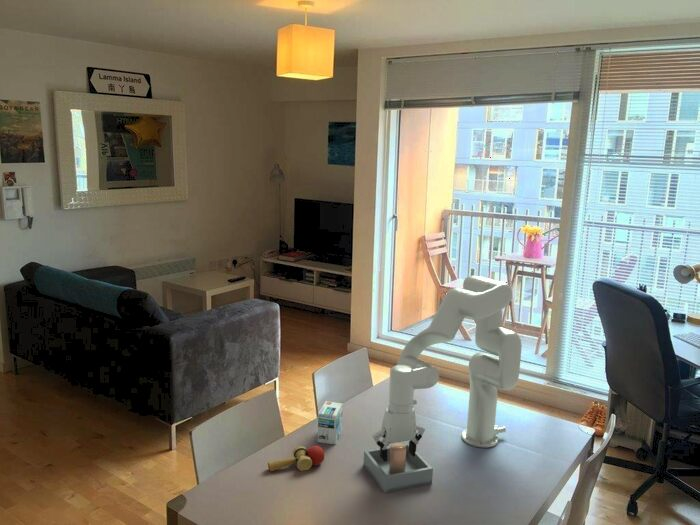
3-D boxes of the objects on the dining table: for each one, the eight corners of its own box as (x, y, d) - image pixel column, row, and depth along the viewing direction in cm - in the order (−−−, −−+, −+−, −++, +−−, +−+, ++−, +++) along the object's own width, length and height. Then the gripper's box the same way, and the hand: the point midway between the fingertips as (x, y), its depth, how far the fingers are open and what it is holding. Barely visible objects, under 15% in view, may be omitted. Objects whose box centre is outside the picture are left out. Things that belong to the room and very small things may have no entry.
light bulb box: (335, 445, 194) (336, 415, 192) (316, 442, 195) (317, 413, 193) (342, 430, 204) (343, 402, 202) (324, 428, 206) (325, 400, 204)
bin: (408, 457, 188) (408, 443, 187) (431, 483, 173) (433, 468, 172) (363, 465, 182) (364, 450, 181) (384, 493, 167) (385, 477, 167)
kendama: (273, 483, 173) (329, 466, 179) (269, 463, 173) (325, 446, 178) (268, 473, 180) (322, 457, 186) (265, 454, 180) (319, 439, 186)
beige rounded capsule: (401, 465, 181) (402, 442, 179) (408, 473, 176) (409, 449, 175) (386, 468, 179) (387, 444, 178) (393, 476, 174) (394, 452, 173)
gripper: (419, 397, 180) (416, 446, 183) (369, 404, 174) (367, 455, 177) (431, 407, 173) (428, 458, 176) (379, 414, 167) (377, 467, 170)
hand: (397, 456), depth 177 cm, fingers open, 9 cm apart
